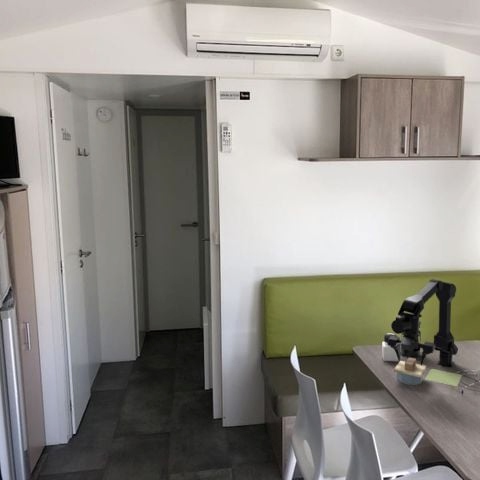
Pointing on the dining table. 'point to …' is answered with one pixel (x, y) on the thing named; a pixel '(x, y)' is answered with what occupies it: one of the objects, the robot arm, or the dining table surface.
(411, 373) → the lid
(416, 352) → the french press
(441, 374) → the mat
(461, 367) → the dining table surface
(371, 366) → the dining table surface
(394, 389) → the dining table surface
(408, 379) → the bowl
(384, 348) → the medicine bottle
